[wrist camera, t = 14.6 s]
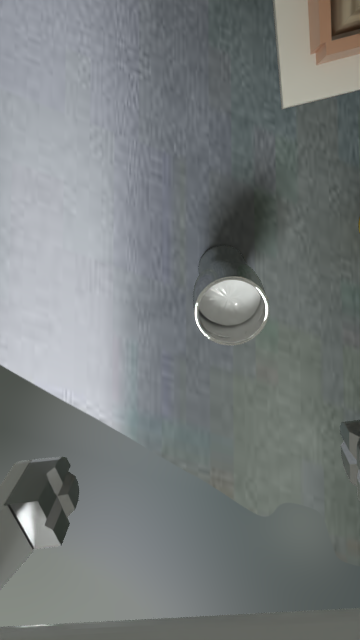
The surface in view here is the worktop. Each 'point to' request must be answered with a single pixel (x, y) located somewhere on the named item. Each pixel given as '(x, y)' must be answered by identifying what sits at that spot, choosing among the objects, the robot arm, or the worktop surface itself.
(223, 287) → the beer glass
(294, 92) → the framed base plate
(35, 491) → the robot arm
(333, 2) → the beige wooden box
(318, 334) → the worktop surface
